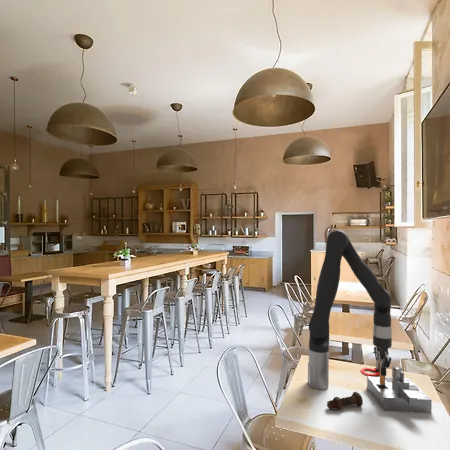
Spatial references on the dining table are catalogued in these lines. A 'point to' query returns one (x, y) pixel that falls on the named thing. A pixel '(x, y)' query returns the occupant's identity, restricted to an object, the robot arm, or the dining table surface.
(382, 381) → the rounded pin
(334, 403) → the bolt
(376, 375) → the tow hook
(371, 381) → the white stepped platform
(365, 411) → the dining table surface
